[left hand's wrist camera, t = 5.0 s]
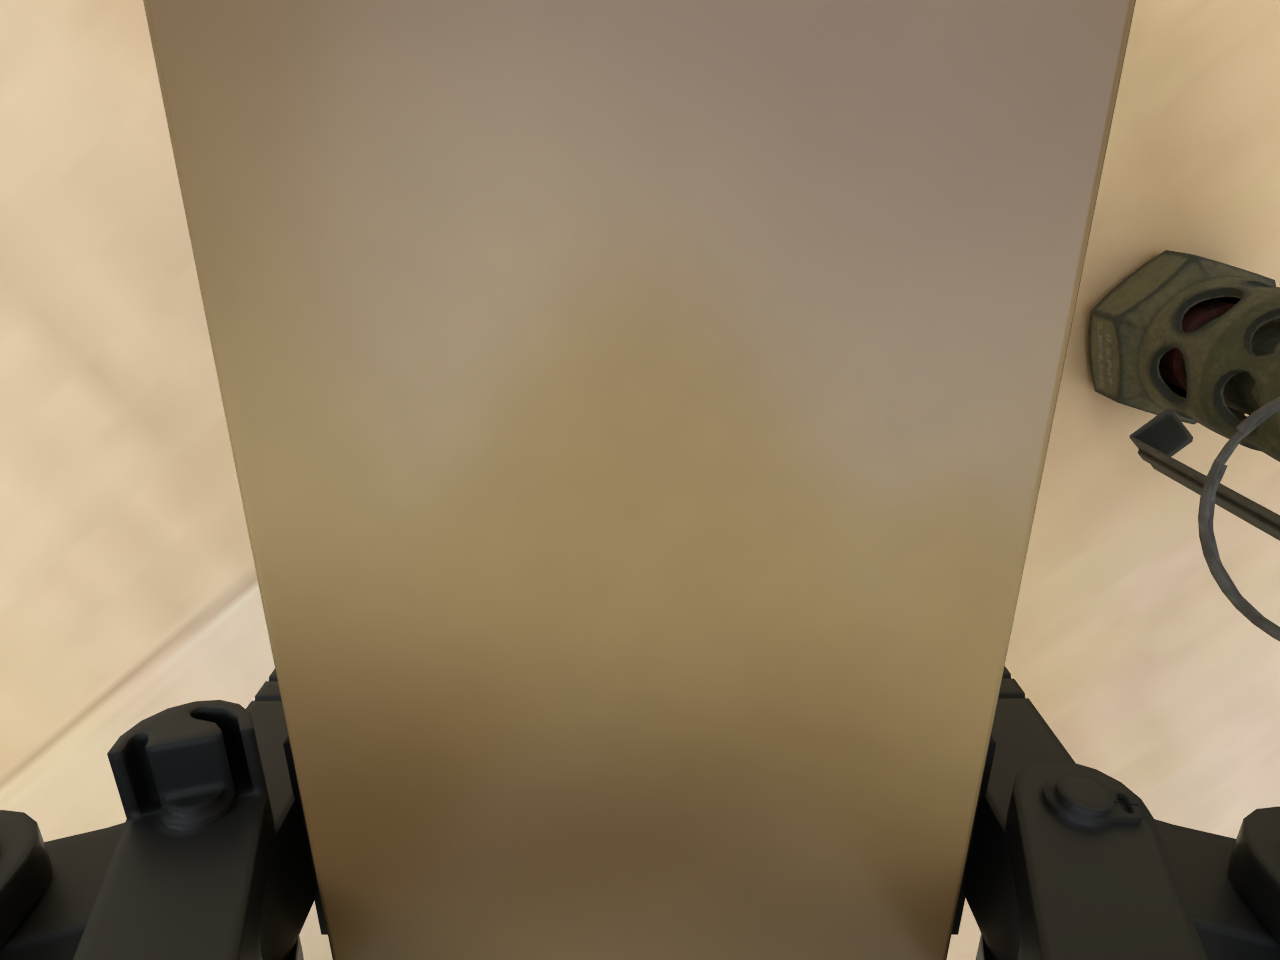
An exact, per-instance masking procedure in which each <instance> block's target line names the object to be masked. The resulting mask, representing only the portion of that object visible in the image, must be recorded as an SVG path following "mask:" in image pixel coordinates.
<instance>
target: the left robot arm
mask: <svg viewBox="0 0 1280 960" xmlns="http://www.w3.org/2000/svg"><path fill="white" fill-rule="evenodd" d="M107 755H108V758H109V761H110V764H111V768H112V771H113V774H114V778H115V781H116V784H117V788H118V791H119V794H120V797H121V801H122V804H123V807H124V811H125V814H126V817H127V820H126V822H125V823H122V824H119V825H115V826H112V827H109V828H105V829H100V830H96V831H92V832H87V833H83V834H79V835H74V836H70V837H66V838H61V839H57V840H52V841H48V842H44V841H43V838H42V836H41V833H40V830H39V827H38V824H37V822H36V821H34V820H33V819H32V818H30V817H29V816H28V815H27V814H25V813H23V812H14V811H5V810H0V960H304V959H303V953H302V947H301V942H300V938H299V934H300V931H301V929H302V927H303V925H304V922H305V920H306V918H307V916H308V913H309V911H310V909H311V907H312V904H313V902H314V900H315V905H316V910H317V914H318V919H319V924H320V929H321V934H328V932H327V927H326V922H325V917H324V912H323V907H322V902H321V897H320V892H319V887H318V882H317V876H316V871H315V866H314V861H313V856H312V851H311V846H310V841H309V836H308V831H307V826H306V821H305V816H304V811H303V806H302V801H301V796H300V790H299V785H298V780H297V775H296V770H295V765H294V760H293V755H292V750H291V745H290V740H289V735H288V730H287V725H286V720H285V715H284V709H283V704H282V699H281V694H280V689H279V684H278V679H277V674H276V669H275V670H274V671H273V672H272V674H271V675H270V676H269V682H265V683H264V685H263V686H262V687H261V689H260V690H259V692H258V693H257V694H256V696H255V701H251V703H250V704H249V705H248V707H247V708H246V709H244V708H243V707H242V706H241V705H240V704H236V703H231V702H226V701H222V700H212V701H196V702H191V703H188V704H184V705H180V706H176V707H172V708H169V709H166V710H164V711H162V712H160V713H157V714H155V715H153V716H151V717H149V718H147V719H144V720H142V721H141V722H139V723H138V724H137V725H135V726H134V727H133V728H131V729H130V730H128V731H127V732H126V733H124V734H123V735H122V736H120V738H119V739H118V740H117V742H116V743H115V744H114V746H113V747H112V748H111V749H110V751H109V752H108V753H107ZM965 897H966V899H967V902H968V904H969V906H970V908H971V911H972V913H973V915H974V917H975V920H976V922H977V924H978V926H979V929H980V931H981V938H980V942H979V947H978V952H977V956H976V960H1280V807H1271V808H1263V809H1256V810H1255V811H1253V812H1252V813H1251V814H1249V815H1248V816H1247V817H1246V818H1244V820H1243V822H1242V825H1241V828H1240V831H1239V834H1238V836H1237V839H1233V838H1229V837H1225V836H1220V835H1216V834H1211V833H1207V832H1203V831H1198V830H1194V829H1190V828H1185V827H1181V826H1176V825H1172V824H1169V823H1166V822H1162V821H1159V820H1155V819H1154V818H1153V817H1152V815H1151V813H1150V812H1149V810H1148V809H1147V807H1146V806H1145V804H1144V803H1143V801H1142V800H1141V799H1140V798H1139V797H1138V796H1137V795H1135V794H1134V793H1133V792H1132V791H1131V790H1129V789H1128V788H1127V787H1126V786H1125V785H1123V784H1122V783H1121V782H1119V781H1117V780H1115V779H1113V778H1111V777H1110V776H1108V775H1106V774H1104V773H1102V772H1100V771H1098V770H1096V769H1093V768H1089V767H1086V766H1083V765H1079V764H1076V763H1075V762H1074V760H1073V759H1072V758H1071V756H1070V755H1069V753H1068V752H1067V751H1066V749H1065V748H1064V747H1063V745H1062V744H1061V743H1060V741H1059V740H1058V738H1057V737H1056V736H1055V734H1054V733H1053V732H1052V730H1051V729H1050V727H1049V726H1048V725H1047V723H1046V722H1045V721H1044V719H1043V718H1042V716H1041V715H1040V714H1039V712H1038V711H1037V710H1036V708H1035V707H1034V705H1033V704H1032V703H1031V701H1030V700H1029V699H1028V698H1025V693H1024V692H1023V690H1022V689H1021V688H1020V686H1019V685H1018V683H1017V682H1016V681H1015V679H1011V674H1010V672H1009V671H1008V670H1007V668H1006V667H1005V666H1004V670H1003V675H1002V680H1001V685H1000V690H999V695H998V700H997V705H996V710H995V715H994V721H993V726H992V731H991V736H990V741H989V746H988V751H987V756H986V761H985V766H984V771H983V776H982V781H981V786H980V791H979V796H978V802H977V807H976V812H975V817H974V822H973V827H972V832H971V837H970V842H969V847H968V852H967V857H966V862H965V867H964V872H963V878H962V883H961V888H960V893H959V898H958V903H957V908H956V913H955V918H954V923H953V928H952V933H951V934H958V932H959V927H960V922H961V917H962V912H963V907H964V902H965Z"/></svg>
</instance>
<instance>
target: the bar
mask: <svg viewBox="0 0 1280 960" xmlns="http://www.w3.org/2000/svg"><path fill="white" fill-rule="evenodd" d="M143 1H144V6H145V11H146V16H147V21H148V26H149V31H150V36H151V41H152V47H153V52H154V57H155V62H156V67H157V72H158V77H159V82H160V87H161V92H162V97H163V102H164V107H165V112H166V117H167V122H168V128H169V133H170V138H171V143H172V148H173V153H174V158H175V163H176V168H177V173H178V178H179V183H180V188H181V193H182V198H183V203H184V208H185V214H186V219H187V224H188V229H189V234H190V239H191V244H192V249H193V254H194V259H195V264H196V269H197V274H198V279H199V284H200V289H201V295H202V300H203V305H204V310H205V315H206V320H207V325H208V330H209V335H210V340H211V345H212V350H213V355H214V360H215V365H216V370H217V375H218V381H219V386H220V391H221V396H222V401H223V406H224V411H225V416H226V421H227V426H228V431H229V436H230V441H231V446H232V451H233V456H234V462H235V467H236V472H237V477H238V482H239V487H240V492H241V497H242V502H243V507H244V512H245V517H246V522H247V527H248V532H249V537H250V542H251V548H252V553H253V558H254V563H255V568H256V573H257V578H258V583H259V588H260V593H261V598H262V603H263V608H264V613H265V618H266V623H267V629H268V634H269V639H270V644H271V649H272V654H273V659H274V664H275V669H276V674H277V679H278V684H279V689H280V694H281V699H282V704H283V709H284V715H285V720H286V725H287V730H288V735H289V740H290V745H291V750H292V755H293V760H294V765H295V770H296V775H297V780H298V785H299V790H300V796H301V801H302V806H303V811H304V816H305V821H306V826H307V831H308V836H309V841H310V846H311V851H312V856H313V861H314V866H315V871H316V876H317V882H318V887H319V892H320V897H321V902H322V907H323V912H324V917H325V922H326V927H327V932H328V937H329V942H330V947H331V952H332V957H333V960H946V959H947V953H948V948H949V943H950V938H951V933H952V928H953V923H954V918H955V913H956V908H957V903H958V898H959V893H960V888H961V883H962V878H963V872H964V867H965V862H966V857H967V852H968V847H969V842H970V837H971V832H972V827H973V822H974V817H975V812H976V807H977V802H978V796H979V791H980V786H981V781H982V776H983V771H984V766H985V761H986V756H987V751H988V746H989V741H990V736H991V731H992V726H993V721H994V715H995V710H996V705H997V700H998V695H999V690H1000V685H1001V680H1002V675H1003V670H1004V665H1005V660H1006V655H1007V650H1008V645H1009V640H1010V634H1011V629H1012V624H1013V619H1014V614H1015V609H1016V604H1017V599H1018V594H1019V589H1020V584H1021V579H1022V574H1023V569H1024V564H1025V558H1026V553H1027V548H1028V543H1029V538H1030V533H1031V528H1032V523H1033V518H1034V513H1035V508H1036V503H1037V498H1038V493H1039V488H1040V483H1041V477H1042V472H1043V467H1044V462H1045V457H1046V452H1047V447H1048V442H1049V437H1050V432H1051V427H1052V422H1053V417H1054V412H1055V407H1056V401H1057V396H1058V391H1059V386H1060V381H1061V376H1062V371H1063V366H1064V361H1065V356H1066V351H1067V346H1068V341H1069V336H1070V331H1071V326H1072V320H1073V315H1074V310H1075V305H1076V300H1077V295H1078V290H1079V285H1080V280H1081V275H1082V270H1083V265H1084V260H1085V255H1086V250H1087V244H1088V239H1089V234H1090V229H1091V224H1092V219H1093V214H1094V209H1095V204H1096V199H1097V194H1098V189H1099V184H1100V179H1101V174H1102V169H1103V163H1104V158H1105V153H1106V148H1107V143H1108V138H1109V133H1110V128H1111V123H1112V118H1113V113H1114V108H1115V103H1116V98H1117V93H1118V87H1119V82H1120V77H1121V72H1122V67H1123V62H1124V57H1125V52H1126V47H1127V42H1128V37H1129V32H1130V27H1131V22H1132V17H1133V12H1134V6H1135V1H1136V0H143Z"/></svg>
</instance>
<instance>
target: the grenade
mask: <svg viewBox="0 0 1280 960" xmlns="http://www.w3.org/2000/svg"><path fill="white" fill-rule="evenodd" d="M1089 353H1090V364H1091V372H1092V378H1093V383H1094V389H1095V391H1096V392H1098V393H1100V394H1102V395H1104V396H1106V397H1108V398H1110V399H1112V400H1114V401H1116V402H1118V403H1121V404H1124V405H1128V406H1131V407H1134V408H1137V409H1140V410H1143V411H1146V412H1150V413H1153V414H1156V415H1157V416H1156V417H1155V418H1153V419H1152V420H1150V421H1149V422H1148V423H1146V424H1145V425H1144V426H1142V427H1141V428H1139V429H1138V430H1137V431H1135V432H1134V433H1133V434H1131V435H1130V439H1131V440H1132V441H1133V442H1134V444H1135V445H1136V446H1137V447H1138V449H1139V451H1138V454H1139V455H1140V456H1141V458H1142V459H1143V460H1145V461H1146V462H1148V463H1150V464H1151V465H1152V467H1153V468H1154V469H1156V470H1157V471H1159V472H1161V473H1163V474H1164V475H1166V476H1168V477H1170V478H1171V479H1173V480H1175V481H1177V482H1178V483H1180V484H1182V485H1184V486H1185V487H1187V488H1189V489H1191V490H1192V491H1194V492H1196V493H1198V494H1199V495H1201V497H1200V505H1199V514H1198V522H1199V537H1200V541H1201V546H1202V550H1203V554H1204V557H1205V559H1206V562H1207V564H1208V567H1209V569H1210V572H1211V574H1212V576H1213V577H1214V579H1215V580H1216V582H1217V584H1218V585H1219V587H1220V589H1221V590H1222V592H1223V593H1224V594H1225V595H1226V597H1227V598H1228V599H1229V600H1230V601H1231V603H1232V604H1233V605H1234V606H1235V608H1236V609H1238V610H1239V611H1240V612H1241V613H1242V614H1243V615H1244V616H1245V617H1246V618H1247V619H1248V620H1250V621H1251V622H1252V623H1253V624H1254V625H1256V626H1257V627H1259V628H1260V629H1261V630H1263V631H1264V632H1266V633H1267V634H1269V635H1270V636H1271V637H1273V638H1275V639H1277V640H1278V641H1280V627H1279V626H1277V625H1276V624H1274V623H1272V622H1271V621H1269V620H1268V619H1266V618H1265V617H1264V616H1263V615H1262V614H1260V613H1259V612H1258V611H1257V610H1256V609H1255V608H1254V607H1253V606H1252V605H1251V604H1250V603H1249V602H1248V601H1247V600H1246V599H1244V598H1243V597H1242V595H1241V594H1240V593H1239V591H1238V590H1237V588H1236V586H1235V585H1234V583H1233V581H1232V580H1231V578H1230V577H1229V575H1228V573H1227V572H1226V570H1225V568H1224V567H1223V565H1222V563H1221V560H1220V557H1219V553H1218V549H1217V545H1216V540H1215V536H1214V532H1213V516H1214V506H1215V504H1217V505H1218V506H1220V507H1222V508H1224V509H1225V510H1227V511H1229V512H1231V513H1232V514H1234V515H1236V516H1238V517H1239V518H1241V519H1243V520H1245V521H1246V522H1248V523H1250V524H1252V525H1253V526H1255V527H1257V528H1259V529H1260V530H1262V531H1264V532H1266V533H1267V534H1269V535H1271V536H1273V537H1274V538H1276V539H1278V540H1280V515H1278V514H1276V513H1274V512H1272V511H1271V510H1269V509H1267V508H1265V507H1263V506H1261V505H1259V504H1257V503H1256V502H1254V501H1252V500H1250V499H1248V498H1246V497H1244V496H1243V495H1241V494H1239V493H1237V492H1235V491H1233V490H1231V489H1229V488H1228V487H1226V486H1224V485H1222V484H1220V481H1221V479H1222V477H1223V475H1224V472H1225V470H1226V468H1227V465H1224V464H1225V463H1226V461H1227V460H1228V458H1229V457H1230V455H1231V454H1232V453H1233V451H1234V450H1235V448H1236V447H1237V445H1238V444H1241V445H1243V446H1245V447H1248V448H1251V449H1254V450H1258V451H1262V452H1264V453H1266V454H1267V455H1269V456H1271V457H1272V458H1274V459H1276V460H1277V461H1279V462H1280V287H1276V284H1275V280H1273V279H1270V278H1267V277H1264V276H1261V275H1259V274H1255V273H1252V272H1249V271H1246V270H1243V269H1240V268H1237V267H1233V266H1230V265H1227V264H1224V263H1220V262H1217V261H1213V260H1210V259H1206V258H1203V257H1199V256H1196V255H1191V254H1185V253H1179V252H1173V251H1167V250H1166V251H1164V252H1163V253H1161V254H1160V255H1158V256H1157V257H1155V258H1154V259H1152V260H1151V261H1149V262H1148V263H1146V264H1145V265H1143V266H1142V267H1141V268H1139V269H1138V270H1137V271H1135V272H1134V273H1133V274H1131V275H1130V276H1129V277H1127V278H1126V279H1125V280H1124V281H1122V282H1121V283H1120V284H1119V285H1118V286H1117V287H1116V288H1114V289H1113V290H1112V291H1111V292H1110V293H1109V294H1108V295H1107V296H1106V297H1105V298H1104V299H1103V300H1102V301H1101V302H1100V303H1099V304H1098V305H1097V306H1096V307H1095V308H1094V309H1093V310H1092V311H1091V318H1090V328H1089ZM1245 413H1246V414H1248V415H1249V416H1248V417H1247V416H1245V415H1244V414H1245ZM1181 421H1182V422H1186V423H1190V424H1195V423H1197V422H1198V423H1200V424H1201V425H1203V426H1205V427H1206V428H1208V429H1210V430H1212V431H1214V432H1216V433H1218V434H1220V435H1222V436H1224V437H1226V438H1228V439H1230V440H1229V441H1228V442H1227V443H1226V444H1225V446H1224V447H1223V449H1222V450H1221V452H1220V453H1219V455H1218V456H1217V458H1216V459H1215V461H1214V462H1213V465H1212V467H1211V469H1210V471H1209V473H1208V475H1207V476H1205V475H1203V474H1201V473H1200V472H1198V471H1196V470H1194V469H1192V468H1190V467H1188V466H1187V465H1185V464H1183V463H1181V462H1179V461H1177V460H1175V459H1173V458H1172V457H1171V456H1173V455H1174V454H1175V453H1177V452H1178V451H1180V450H1181V449H1182V448H1184V447H1185V446H1186V445H1188V444H1189V443H1191V442H1192V440H1193V436H1192V435H1191V434H1190V433H1189V431H1188V430H1187V429H1186V427H1185V426H1184V425H1183V423H1182V422H1181Z"/></svg>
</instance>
